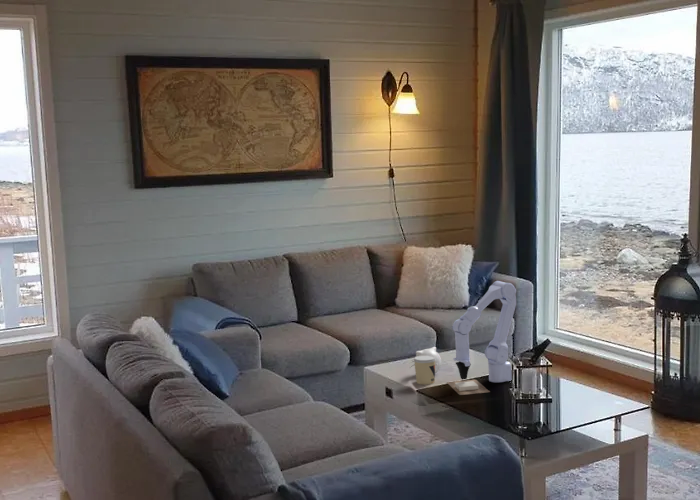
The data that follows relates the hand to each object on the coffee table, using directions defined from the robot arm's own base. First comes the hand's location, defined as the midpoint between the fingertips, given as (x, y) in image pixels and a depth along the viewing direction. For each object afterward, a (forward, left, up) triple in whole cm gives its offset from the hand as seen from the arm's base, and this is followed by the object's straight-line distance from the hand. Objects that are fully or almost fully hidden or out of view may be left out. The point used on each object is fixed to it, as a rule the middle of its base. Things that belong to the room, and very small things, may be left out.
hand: (463, 378), depth 336 cm
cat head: (+9, -26, -4) cm, 28 cm away
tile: (0, 0, -2) cm, 2 cm away
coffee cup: (+14, -12, -4) cm, 19 cm away
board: (-1, +2, -4) cm, 5 cm away
